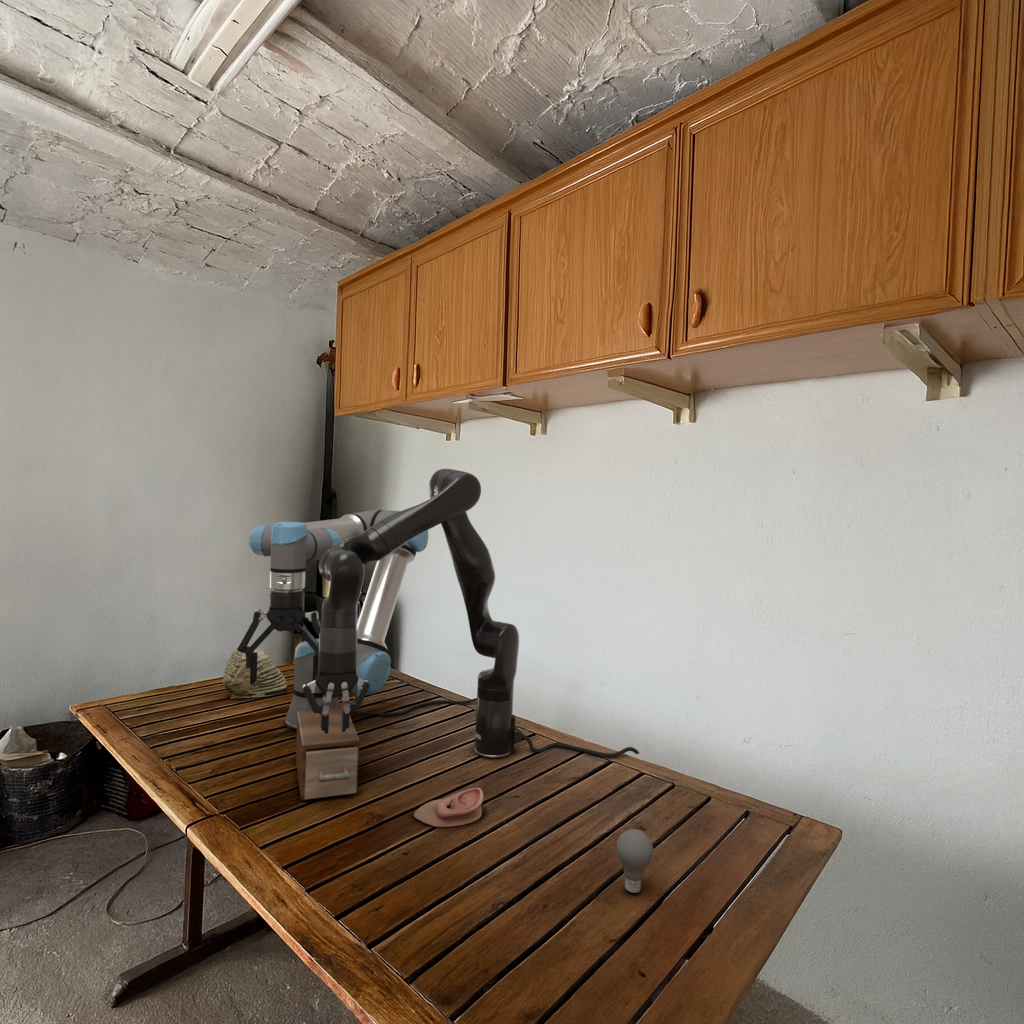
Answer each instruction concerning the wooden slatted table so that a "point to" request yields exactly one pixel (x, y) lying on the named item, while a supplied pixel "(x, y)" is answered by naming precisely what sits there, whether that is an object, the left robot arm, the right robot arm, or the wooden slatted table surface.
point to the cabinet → (321, 739)
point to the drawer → (330, 771)
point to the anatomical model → (452, 809)
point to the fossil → (239, 676)
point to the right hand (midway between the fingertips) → (334, 730)
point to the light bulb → (634, 857)
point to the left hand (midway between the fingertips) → (284, 682)
